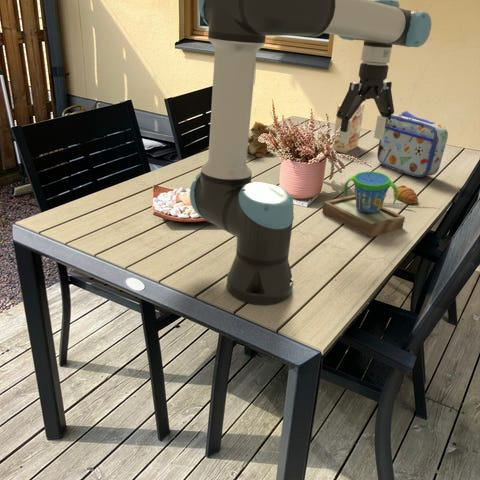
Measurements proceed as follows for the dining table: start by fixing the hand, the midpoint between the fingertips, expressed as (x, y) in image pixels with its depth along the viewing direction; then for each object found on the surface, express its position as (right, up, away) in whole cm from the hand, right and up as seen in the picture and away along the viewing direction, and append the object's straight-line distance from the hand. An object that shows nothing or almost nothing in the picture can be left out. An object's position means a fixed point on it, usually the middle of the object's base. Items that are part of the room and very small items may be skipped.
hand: (361, 140), depth 143 cm
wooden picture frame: (+2, -22, +9) cm, 24 cm away
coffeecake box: (+12, +12, +80) cm, 81 cm away
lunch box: (+30, -1, +55) cm, 63 cm away
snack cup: (+4, -19, +9) cm, 22 cm away
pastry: (+22, -15, +28) cm, 38 cm away
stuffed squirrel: (-27, +8, +66) cm, 72 cm away
